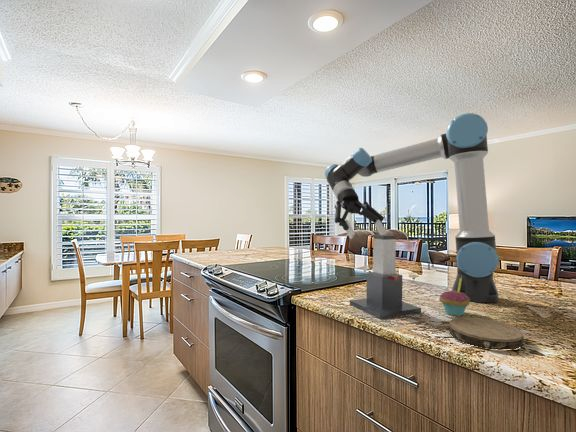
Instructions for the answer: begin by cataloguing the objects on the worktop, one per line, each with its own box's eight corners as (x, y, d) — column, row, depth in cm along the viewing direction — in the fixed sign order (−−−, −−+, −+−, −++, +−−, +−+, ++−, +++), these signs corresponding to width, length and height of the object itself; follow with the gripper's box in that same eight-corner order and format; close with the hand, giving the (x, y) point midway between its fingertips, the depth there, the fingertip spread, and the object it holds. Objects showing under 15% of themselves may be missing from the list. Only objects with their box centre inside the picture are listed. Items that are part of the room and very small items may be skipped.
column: (385, 299, 109) (385, 234, 109) (395, 303, 104) (395, 235, 104) (372, 301, 107) (373, 234, 107) (382, 305, 102) (383, 235, 102)
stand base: (387, 300, 116) (387, 268, 116) (421, 312, 101) (421, 276, 101) (349, 304, 110) (349, 271, 110) (380, 318, 95) (380, 280, 95)
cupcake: (462, 310, 104) (463, 273, 104) (475, 318, 96) (475, 278, 96) (435, 309, 105) (435, 272, 105) (445, 317, 97) (445, 278, 97)
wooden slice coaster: (533, 342, 79) (534, 330, 79) (506, 358, 70) (506, 345, 70) (467, 324, 92) (467, 313, 92) (437, 336, 83) (437, 324, 83)
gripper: (368, 202, 133) (392, 241, 119) (314, 201, 123) (334, 243, 110) (376, 188, 128) (402, 228, 114) (321, 186, 118) (342, 229, 105)
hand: (369, 236), depth 112 cm, fingers open, 13 cm apart
